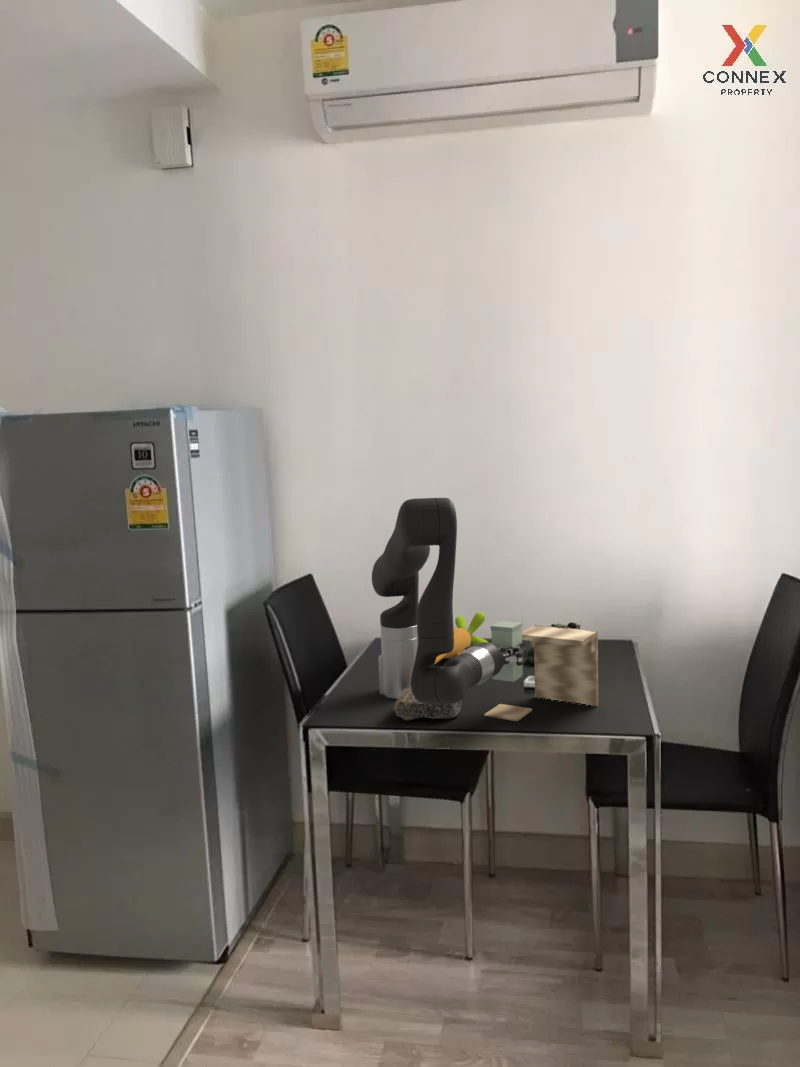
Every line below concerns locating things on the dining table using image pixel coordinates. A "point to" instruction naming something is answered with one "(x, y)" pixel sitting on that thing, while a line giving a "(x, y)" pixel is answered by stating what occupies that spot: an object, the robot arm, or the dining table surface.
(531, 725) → the dining table surface
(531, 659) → the hiking shoe
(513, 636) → the tin
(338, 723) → the dining table surface
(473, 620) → the toy
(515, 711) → the mat
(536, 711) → the dining table surface
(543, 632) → the shelf
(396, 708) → the rock
